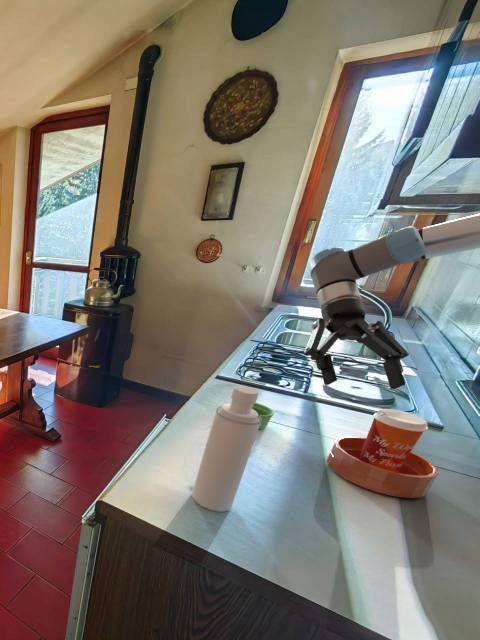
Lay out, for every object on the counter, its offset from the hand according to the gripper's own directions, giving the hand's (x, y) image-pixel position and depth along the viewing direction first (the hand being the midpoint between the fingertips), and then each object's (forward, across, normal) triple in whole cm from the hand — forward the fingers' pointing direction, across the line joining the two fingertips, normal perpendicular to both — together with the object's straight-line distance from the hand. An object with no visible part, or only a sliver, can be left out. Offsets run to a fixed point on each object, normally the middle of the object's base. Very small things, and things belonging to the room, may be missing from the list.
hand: (364, 384), depth 88 cm
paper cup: (+20, +1, -3) cm, 20 cm away
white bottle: (+30, +39, +7) cm, 50 cm away
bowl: (+20, +1, -3) cm, 21 cm away
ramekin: (+5, +15, -19) cm, 24 cm away
